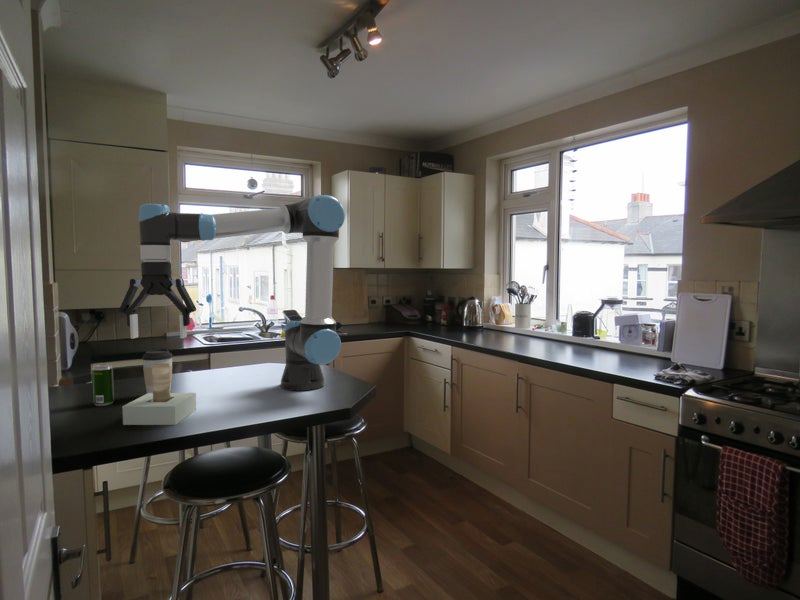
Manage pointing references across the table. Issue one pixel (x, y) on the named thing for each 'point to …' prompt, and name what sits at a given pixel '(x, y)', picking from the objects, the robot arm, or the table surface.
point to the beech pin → (161, 382)
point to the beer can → (103, 384)
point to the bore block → (159, 410)
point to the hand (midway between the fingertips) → (159, 337)
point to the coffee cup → (153, 358)
